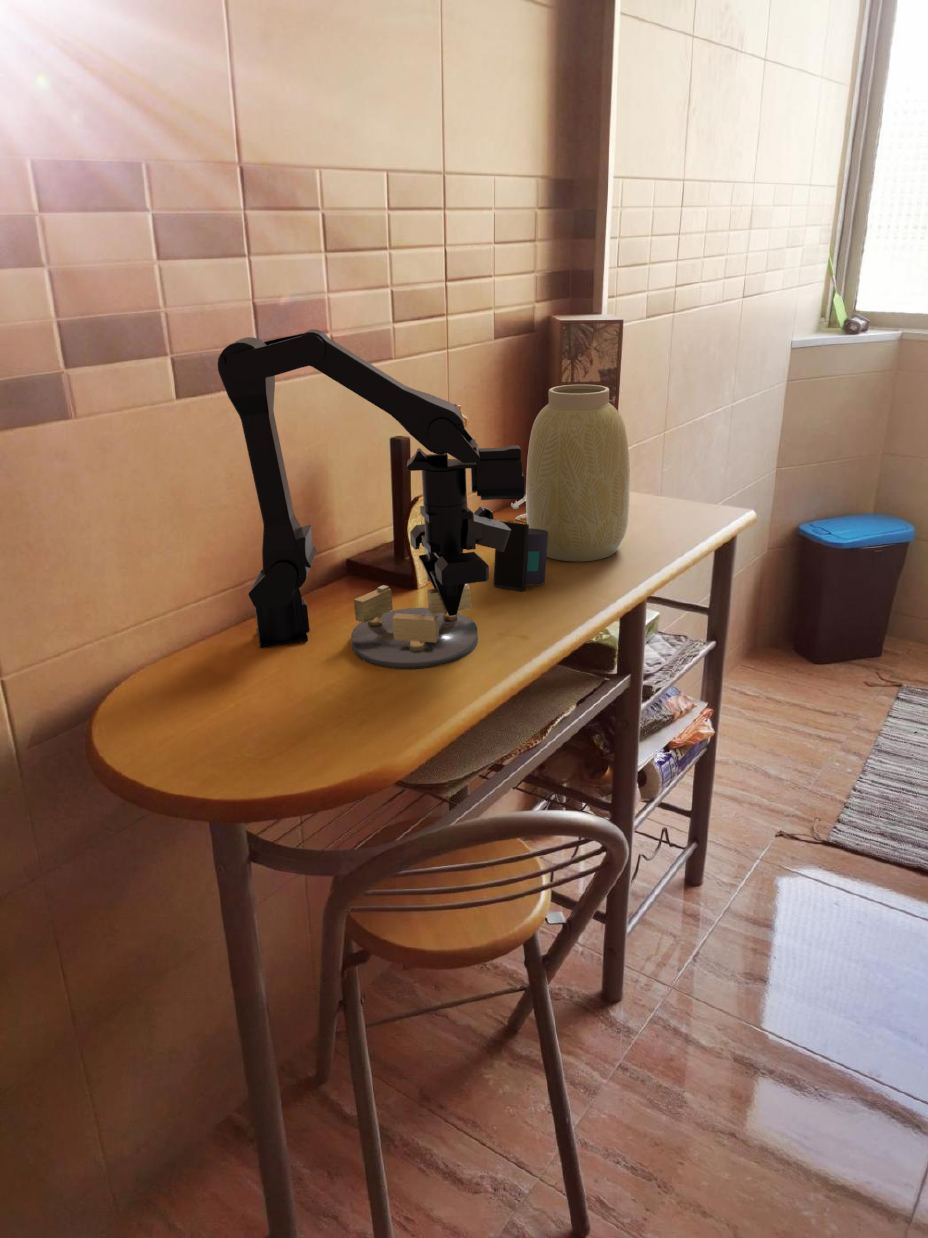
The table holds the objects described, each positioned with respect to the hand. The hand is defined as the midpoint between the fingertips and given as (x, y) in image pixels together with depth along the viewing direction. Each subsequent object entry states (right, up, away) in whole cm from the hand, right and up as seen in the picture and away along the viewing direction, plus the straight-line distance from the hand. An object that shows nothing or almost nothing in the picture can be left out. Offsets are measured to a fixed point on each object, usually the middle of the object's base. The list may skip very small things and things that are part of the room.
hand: (449, 611), depth 128 cm
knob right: (0, -1, +1) cm, 1 cm away
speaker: (+11, +4, +17) cm, 21 cm away
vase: (+21, +11, +31) cm, 39 cm away
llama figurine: (+19, +16, +45) cm, 51 cm away
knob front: (-4, -5, -8) cm, 10 cm away
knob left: (-10, -2, 0) cm, 10 cm away
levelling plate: (-5, -4, -2) cm, 7 cm away
